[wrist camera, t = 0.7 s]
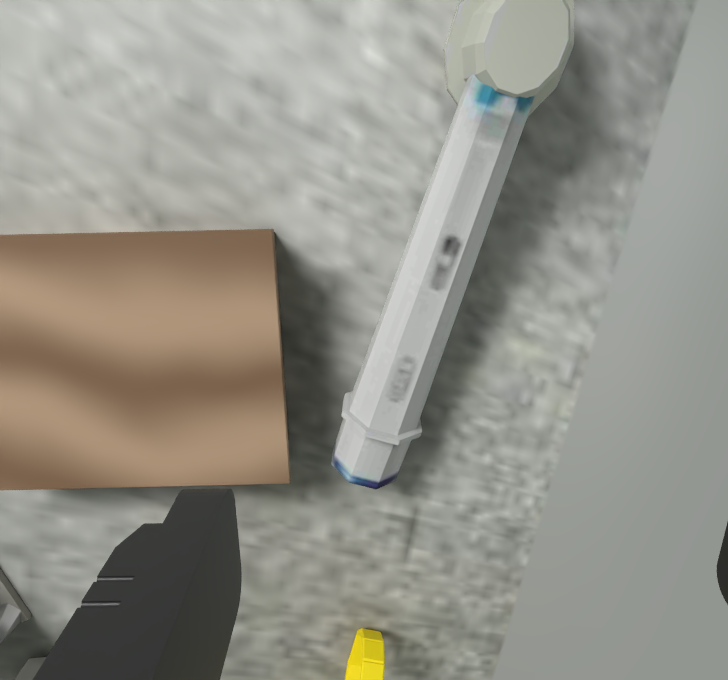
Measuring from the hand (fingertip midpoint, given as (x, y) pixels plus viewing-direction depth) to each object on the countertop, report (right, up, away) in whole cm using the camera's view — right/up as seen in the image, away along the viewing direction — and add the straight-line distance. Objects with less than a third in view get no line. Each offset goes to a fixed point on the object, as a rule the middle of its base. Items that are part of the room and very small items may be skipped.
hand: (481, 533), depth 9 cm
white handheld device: (+2, +8, +20) cm, 22 cm away
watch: (-2, -18, +28) cm, 33 cm away
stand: (-14, +3, +21) cm, 26 cm away
